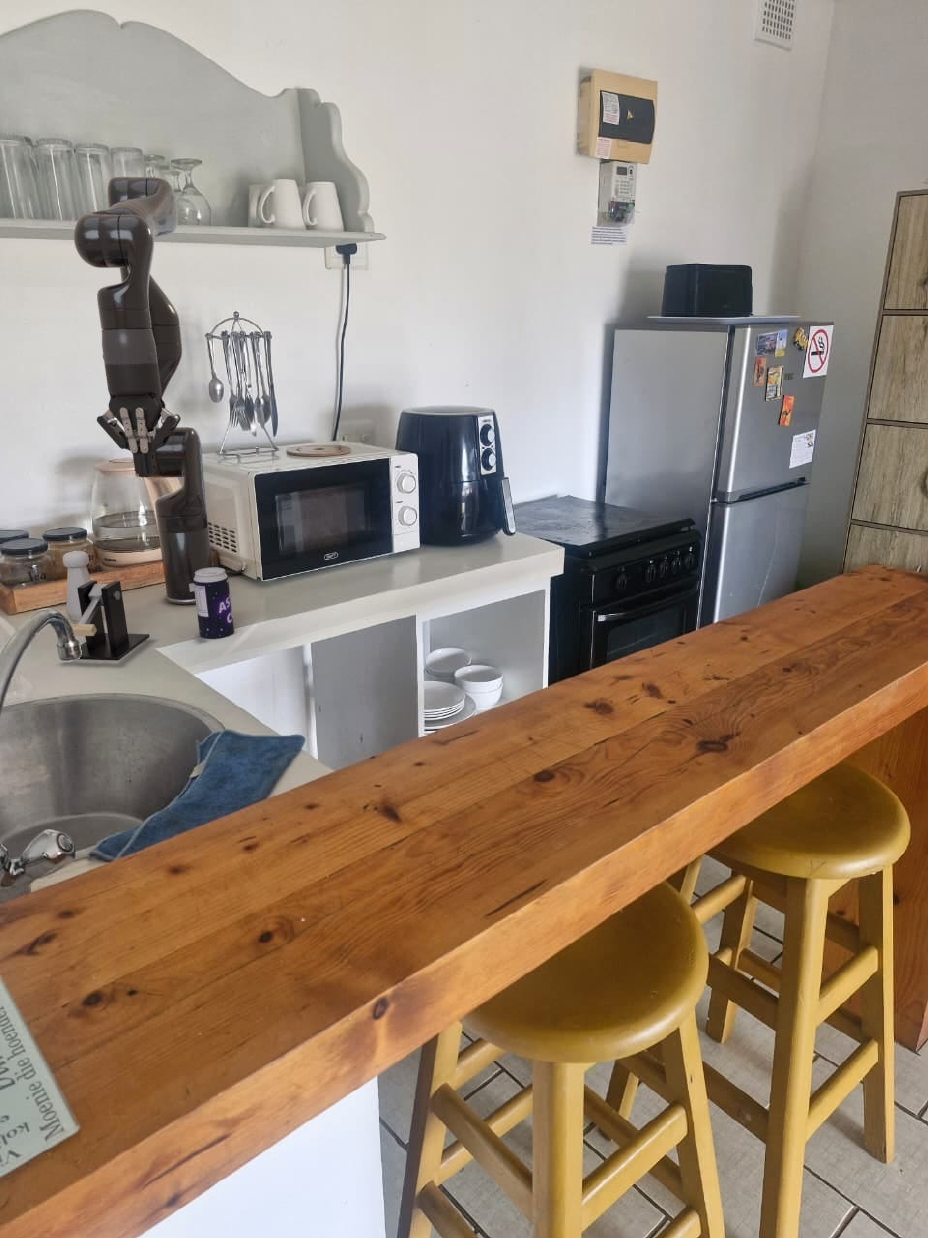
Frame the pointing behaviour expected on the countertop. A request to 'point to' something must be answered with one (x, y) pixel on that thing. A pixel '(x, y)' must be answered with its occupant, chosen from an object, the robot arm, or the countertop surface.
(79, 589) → the lever switch base
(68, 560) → the salt shaker
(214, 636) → the beverage can
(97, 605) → the switch lever
